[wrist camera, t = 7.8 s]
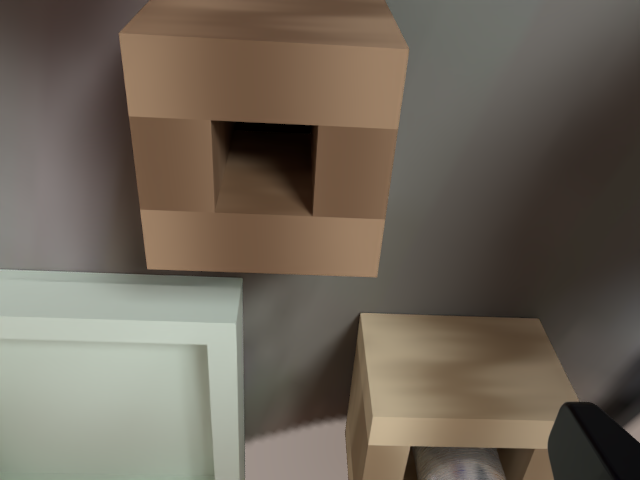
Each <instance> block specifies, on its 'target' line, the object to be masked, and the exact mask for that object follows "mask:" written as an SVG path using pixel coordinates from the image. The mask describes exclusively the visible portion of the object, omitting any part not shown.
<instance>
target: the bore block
mask: <svg viewBox="0 0 640 480" xmlns="http://www.w3.org/2000/svg"><path fill="white" fill-rule="evenodd" d="M565 402H579V400H578V398H577V396H576V394H575V392H574V390H573V388H572V386H571V384H570V382H569V380H568V378H567V375H566V373H565V371H564V369H563V367H562V365H561V363H560V361H559V359H558V357H557V355H556V353H555V351H554V349H553V347H552V345H551V343H550V341H549V339H548V337H547V335H546V333H545V330H544V328H543V326H542V324H541V322H540V320H539V319H536V318H505V317H474V316H443V315H412V314H380V313H360V321H359V328H358V336H357V344H356V352H355V359H354V367H353V375H352V383H351V391H350V398H349V406H348V414H347V422H346V430H345V437H346V451H347V465H348V480H418V478H417V472H416V467H415V461H414V455H413V450H412V446H430V447H479V448H496V449H497V452H498V455H499V458H500V462H501V465H502V468H503V471H504V474H505V477H506V480H554V478H553V473H552V469H551V465H550V460H549V456H548V448H547V447H548V438H549V435H550V432H551V430H552V427H553V424H554V422H555V419H556V417H557V414H558V412H559V409H560V407H561V405H563V404H564V403H565Z"/></svg>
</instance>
